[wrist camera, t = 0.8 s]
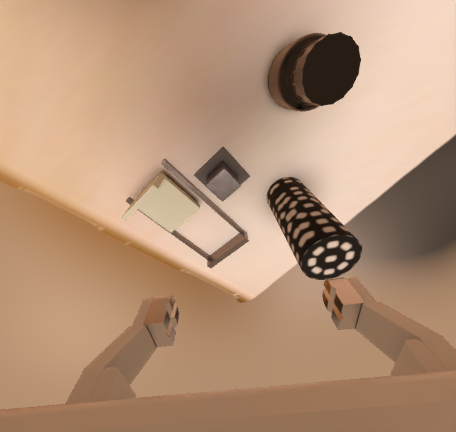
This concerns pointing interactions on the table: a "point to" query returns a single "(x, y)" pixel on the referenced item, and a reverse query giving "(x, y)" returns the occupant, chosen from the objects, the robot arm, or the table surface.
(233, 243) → the track
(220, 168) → the steel block
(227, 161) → the station pad
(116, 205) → the table surface
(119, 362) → the robot arm
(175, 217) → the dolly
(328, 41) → the ink bottle
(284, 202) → the white-spotted black cylinder
